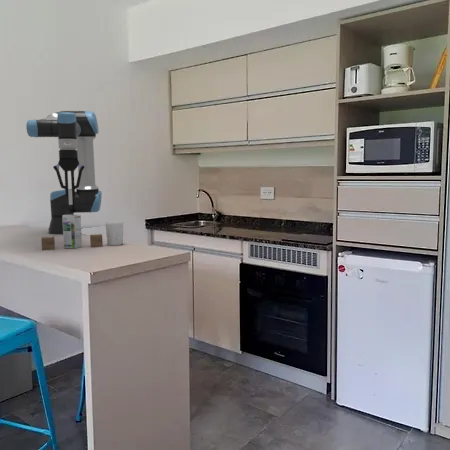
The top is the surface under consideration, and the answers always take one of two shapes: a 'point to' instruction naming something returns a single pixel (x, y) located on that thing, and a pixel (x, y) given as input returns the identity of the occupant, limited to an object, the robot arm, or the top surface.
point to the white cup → (114, 233)
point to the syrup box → (72, 231)
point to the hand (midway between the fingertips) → (70, 204)
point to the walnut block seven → (48, 243)
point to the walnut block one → (96, 240)
